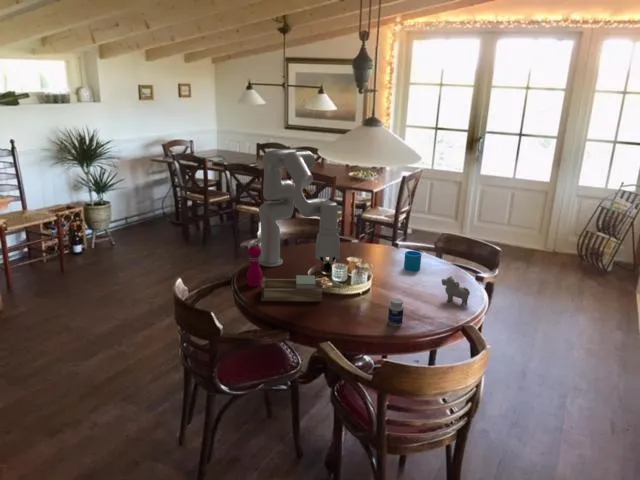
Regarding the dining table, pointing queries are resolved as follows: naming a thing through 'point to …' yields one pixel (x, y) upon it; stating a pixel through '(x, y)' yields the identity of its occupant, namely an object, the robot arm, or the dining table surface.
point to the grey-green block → (305, 282)
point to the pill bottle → (395, 312)
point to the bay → (288, 291)
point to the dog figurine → (455, 290)
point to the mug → (412, 261)
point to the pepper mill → (254, 266)
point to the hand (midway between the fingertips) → (327, 271)
